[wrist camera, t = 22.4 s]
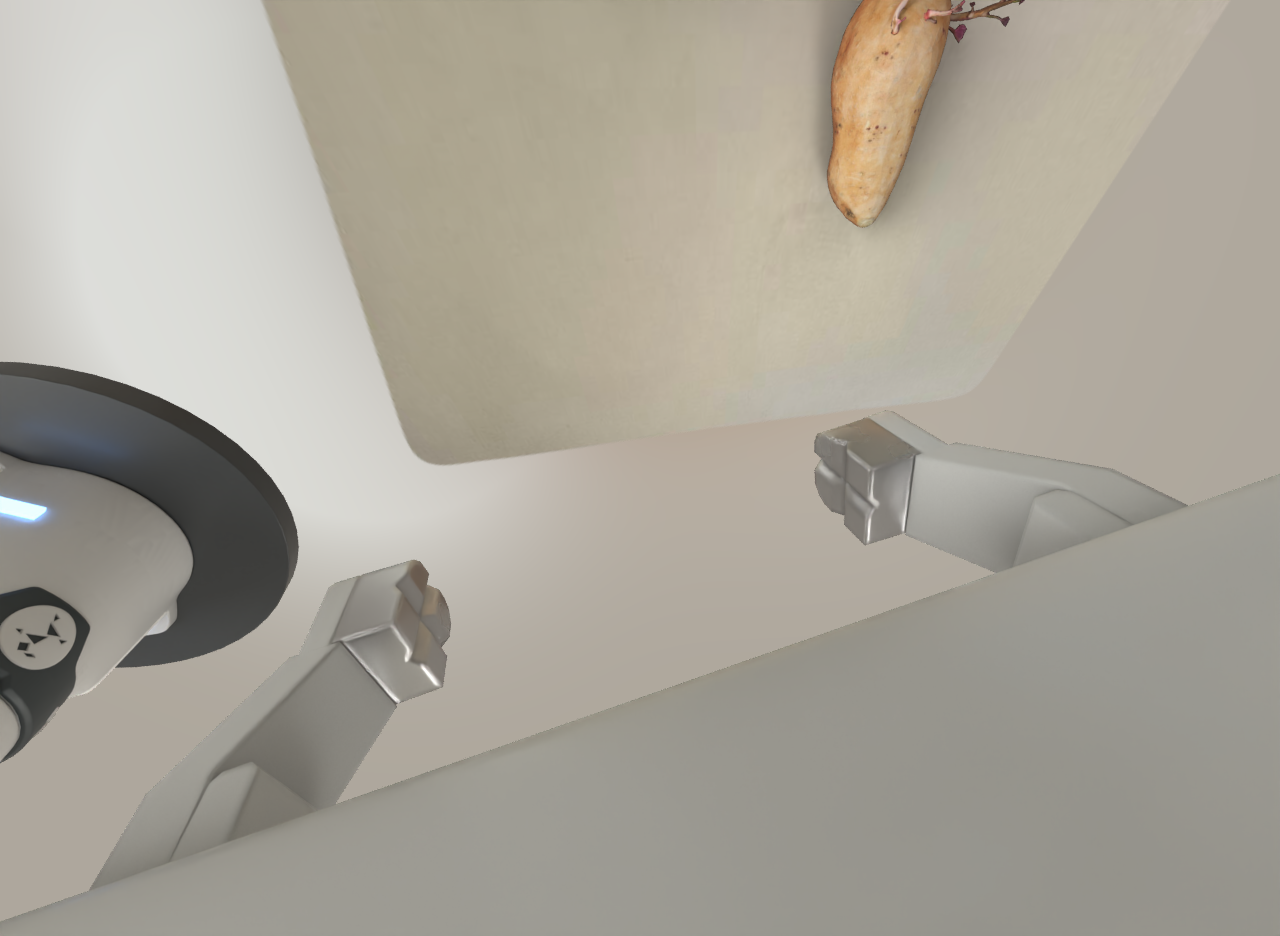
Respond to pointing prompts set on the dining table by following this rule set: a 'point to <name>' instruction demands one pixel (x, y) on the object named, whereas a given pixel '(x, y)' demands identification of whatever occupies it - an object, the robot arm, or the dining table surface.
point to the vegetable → (885, 94)
